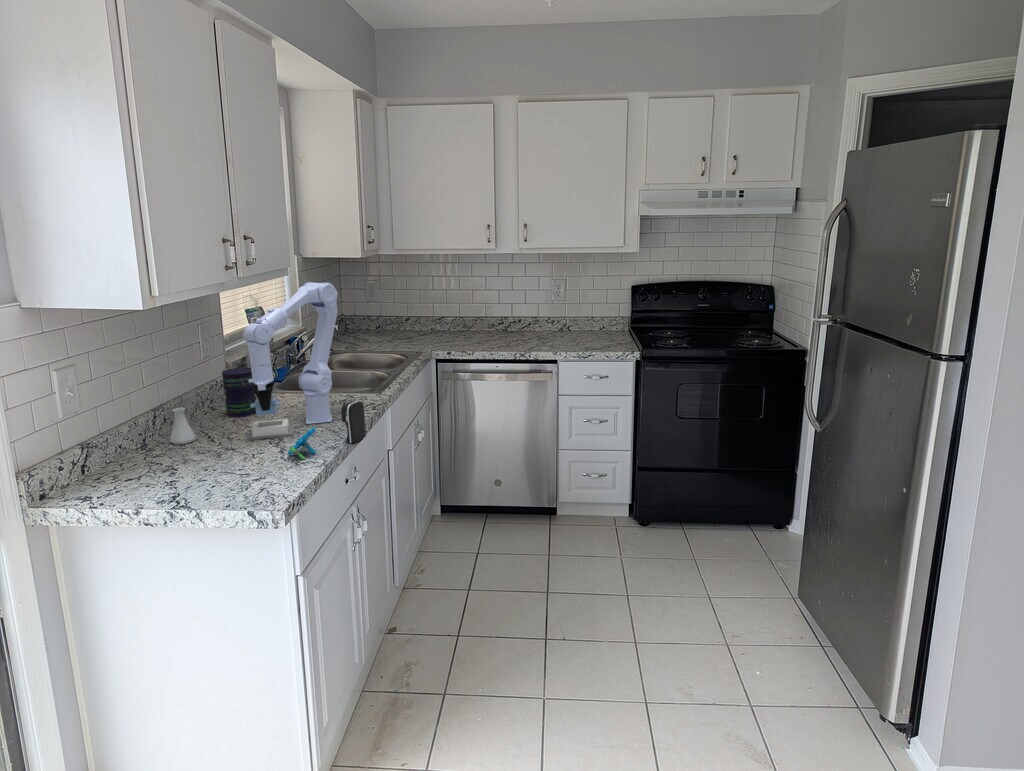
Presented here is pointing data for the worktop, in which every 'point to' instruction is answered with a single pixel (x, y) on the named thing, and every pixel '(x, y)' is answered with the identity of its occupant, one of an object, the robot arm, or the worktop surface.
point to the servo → (272, 410)
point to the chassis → (270, 429)
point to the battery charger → (354, 420)
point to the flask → (181, 428)
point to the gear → (302, 444)
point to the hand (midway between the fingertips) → (266, 408)
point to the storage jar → (239, 392)
